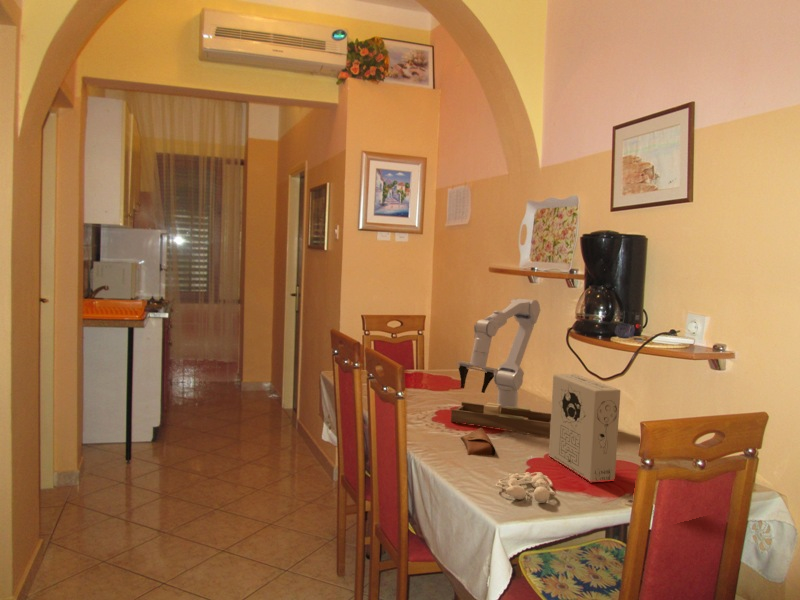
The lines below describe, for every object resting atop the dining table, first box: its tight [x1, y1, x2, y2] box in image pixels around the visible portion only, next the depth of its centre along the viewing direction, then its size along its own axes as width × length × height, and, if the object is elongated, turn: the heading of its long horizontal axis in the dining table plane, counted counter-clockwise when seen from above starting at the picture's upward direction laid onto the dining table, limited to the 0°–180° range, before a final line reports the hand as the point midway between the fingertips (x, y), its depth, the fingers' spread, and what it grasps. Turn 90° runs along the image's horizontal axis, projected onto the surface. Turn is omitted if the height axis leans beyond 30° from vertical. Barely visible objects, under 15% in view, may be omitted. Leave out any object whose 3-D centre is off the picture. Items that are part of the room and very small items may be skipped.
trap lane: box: [450, 401, 551, 438], centre depth 215 cm, size 13×34×5 cm, turn 67°
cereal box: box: [548, 373, 621, 481], centre depth 172 cm, size 22×8×25 cm, turn 17°
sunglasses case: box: [460, 427, 496, 457], centre depth 191 cm, size 18×7×7 cm, turn 3°
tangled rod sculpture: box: [495, 471, 556, 504], centre depth 157 cm, size 19×14×4 cm
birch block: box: [483, 402, 501, 416], centre depth 217 cm, size 5×5×4 cm
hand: (472, 390), depth 218 cm, fingers open, 7 cm apart
